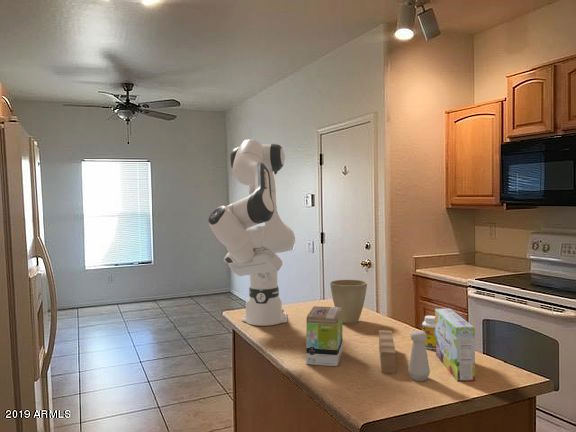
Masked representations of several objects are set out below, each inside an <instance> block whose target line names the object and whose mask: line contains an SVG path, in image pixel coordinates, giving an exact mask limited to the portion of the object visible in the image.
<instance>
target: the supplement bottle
mask: <svg viewBox="0 0 576 432" xmlns="http://www.w3.org/2000/svg"><path fill="white" fill-rule="evenodd" d="M421 328H422V329H421V331H423V332H425V333H426V334H427V341H425V346H426V350H432V349H433V350H436V333H435V315H425V316H424V320H423V321H422V323H421Z"/></svg>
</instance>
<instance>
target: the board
mask: <svg viewBox="0 0 576 432" xmlns="http://www.w3.org/2000/svg"><path fill="white" fill-rule="evenodd" d="M378 349H379V350H378V351H379V360H380V369H381V374H396V373H397V357H396V356H397V352H396V351H397V350H396V347H395V342H394V338H393V332H392V330H382V329H381V330H378Z"/></svg>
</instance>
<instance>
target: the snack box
mask: <svg viewBox="0 0 576 432" xmlns="http://www.w3.org/2000/svg"><path fill="white" fill-rule="evenodd" d="M434 316H435V333H436V349H435V355H436V357H437V358H438V359H439V361H440V362H441V363H442V364H443V365H444V366H445V368H446V369H447V371H448V372H449V373H450V375H452V377H453V378H454V380H456V382H470V381H471V382H474V381H475V382H476V350H475V349H476V347H475V346H476V344H475V343H476V341H475V340H476V339H475V338H476V337H475V335H476V334H475V333H476V332H475V331H476V329H475V326H473V325H472V324H471V323H470V322H468V321H467V319H465V318H463V317H462V316H460V314H458V313H456V311H454V310H453V309H451V308H434Z"/></svg>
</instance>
